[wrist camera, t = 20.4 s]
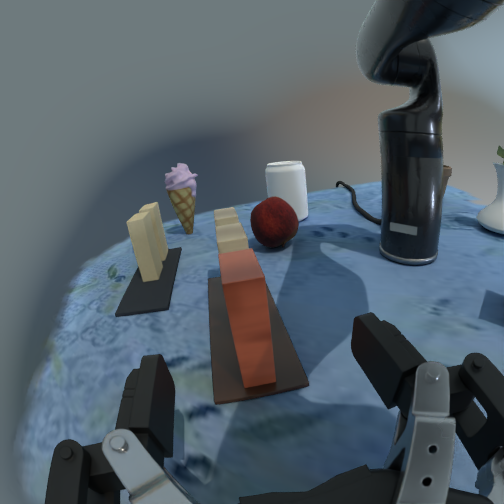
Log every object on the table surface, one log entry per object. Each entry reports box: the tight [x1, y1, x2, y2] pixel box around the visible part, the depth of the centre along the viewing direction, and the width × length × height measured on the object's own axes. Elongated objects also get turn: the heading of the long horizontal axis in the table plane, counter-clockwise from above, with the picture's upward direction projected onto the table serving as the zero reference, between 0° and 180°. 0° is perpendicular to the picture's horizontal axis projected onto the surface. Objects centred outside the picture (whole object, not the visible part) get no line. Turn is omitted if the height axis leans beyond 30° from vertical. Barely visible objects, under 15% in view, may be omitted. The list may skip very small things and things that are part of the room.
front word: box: [208, 207, 309, 405], centre depth 25 cm, size 20×7×9 cm, turn 9°
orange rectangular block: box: [218, 248, 276, 388], centre depth 19 cm, size 4×2×9 cm, turn 9°
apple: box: [250, 196, 299, 248], centre depth 43 cm, size 7×8×8 cm
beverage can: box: [265, 161, 308, 221], centre depth 55 cm, size 8×8×12 cm
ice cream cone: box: [165, 163, 198, 234], centre depth 54 cm, size 7×6×15 cm
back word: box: [115, 202, 181, 317], centre depth 37 cm, size 20×7×9 cm, turn 9°
